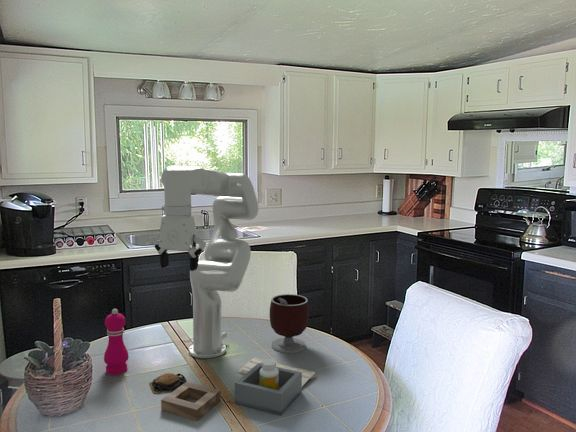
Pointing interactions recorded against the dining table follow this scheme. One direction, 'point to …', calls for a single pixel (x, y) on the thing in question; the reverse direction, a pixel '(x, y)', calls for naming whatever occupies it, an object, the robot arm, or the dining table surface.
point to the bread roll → (167, 383)
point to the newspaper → (305, 373)
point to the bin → (268, 390)
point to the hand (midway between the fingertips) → (179, 268)
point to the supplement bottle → (269, 374)
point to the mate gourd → (289, 321)
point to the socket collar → (189, 409)
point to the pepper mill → (115, 344)
